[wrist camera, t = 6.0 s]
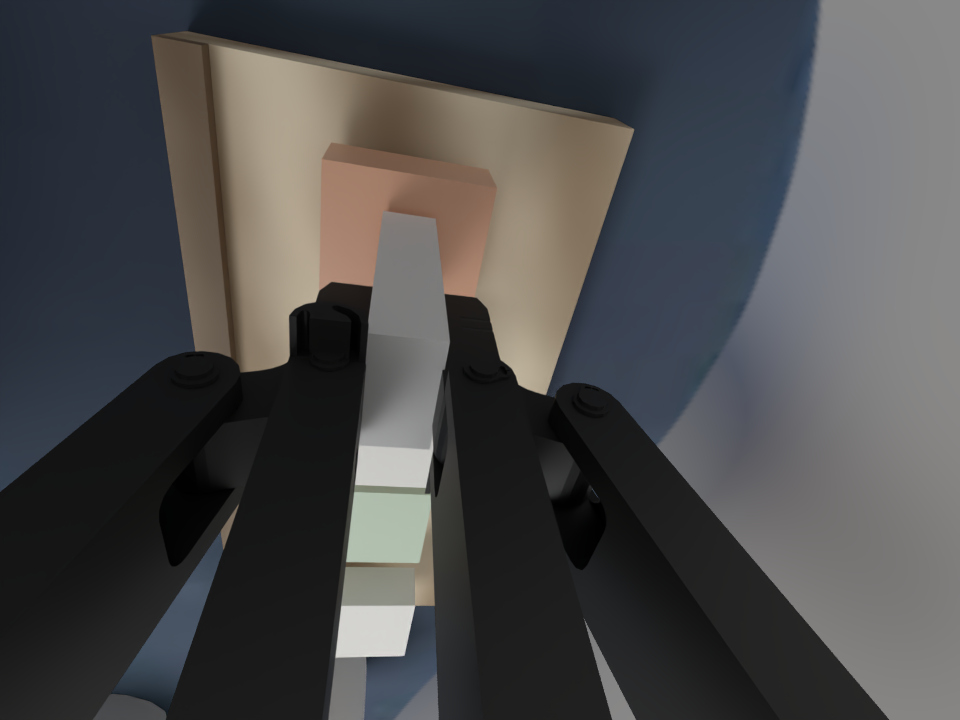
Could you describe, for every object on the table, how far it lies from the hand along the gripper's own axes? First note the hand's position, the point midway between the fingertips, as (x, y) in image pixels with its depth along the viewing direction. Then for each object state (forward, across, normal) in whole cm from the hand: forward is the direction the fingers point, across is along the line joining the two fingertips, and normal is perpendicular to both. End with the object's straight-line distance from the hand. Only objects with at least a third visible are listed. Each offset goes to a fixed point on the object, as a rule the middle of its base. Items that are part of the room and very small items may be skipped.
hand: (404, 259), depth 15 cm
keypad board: (+5, 0, -10) cm, 11 cm away
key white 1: (+1, 0, -19) cm, 20 cm away
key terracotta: (+2, 0, 0) cm, 2 cm away
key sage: (+2, 0, -13) cm, 13 cm away
